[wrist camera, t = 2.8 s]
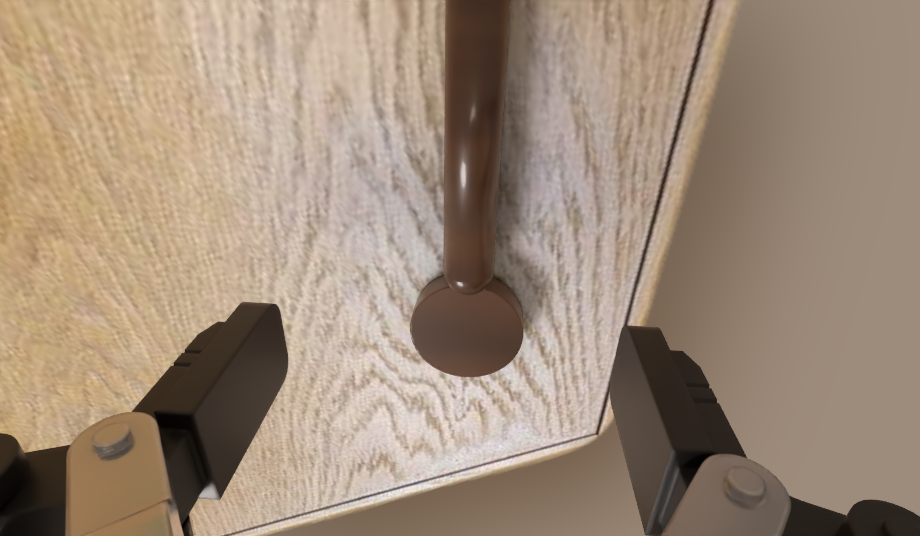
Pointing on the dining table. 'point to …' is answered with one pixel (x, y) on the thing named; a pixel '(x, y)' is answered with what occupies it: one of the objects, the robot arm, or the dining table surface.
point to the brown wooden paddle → (471, 203)
